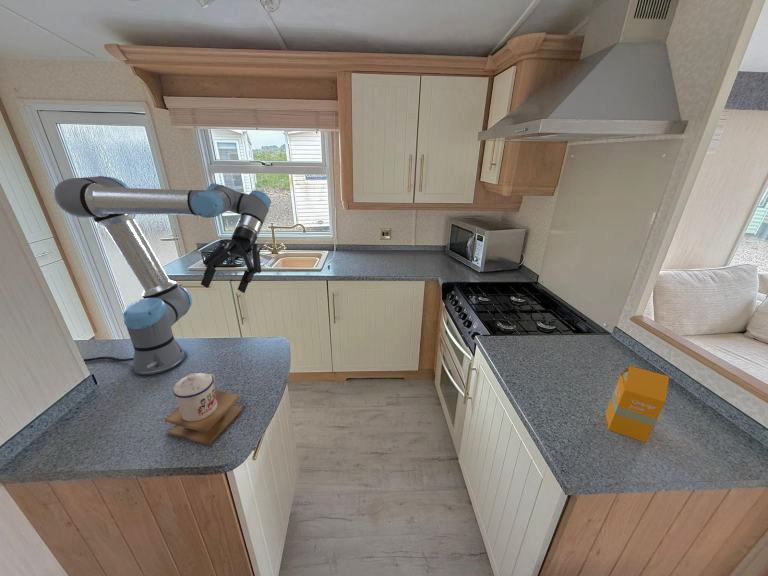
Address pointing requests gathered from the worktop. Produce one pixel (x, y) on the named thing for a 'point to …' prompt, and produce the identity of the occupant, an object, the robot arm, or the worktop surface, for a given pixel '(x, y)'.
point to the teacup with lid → (196, 396)
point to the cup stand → (206, 420)
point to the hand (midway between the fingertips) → (222, 288)
